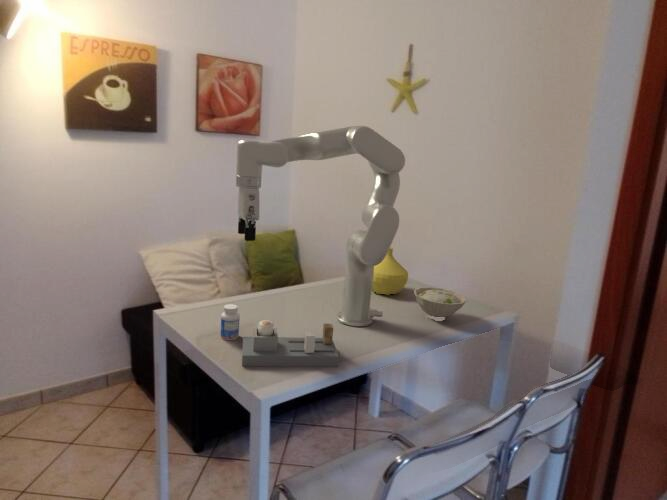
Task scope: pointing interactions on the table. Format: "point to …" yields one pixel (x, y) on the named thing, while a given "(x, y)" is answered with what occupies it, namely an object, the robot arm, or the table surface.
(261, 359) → the panel
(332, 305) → the table surface
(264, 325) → the button ivory
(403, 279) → the vase
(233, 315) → the pill bottle
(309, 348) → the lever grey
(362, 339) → the table surface
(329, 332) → the lever oak
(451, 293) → the bowl
